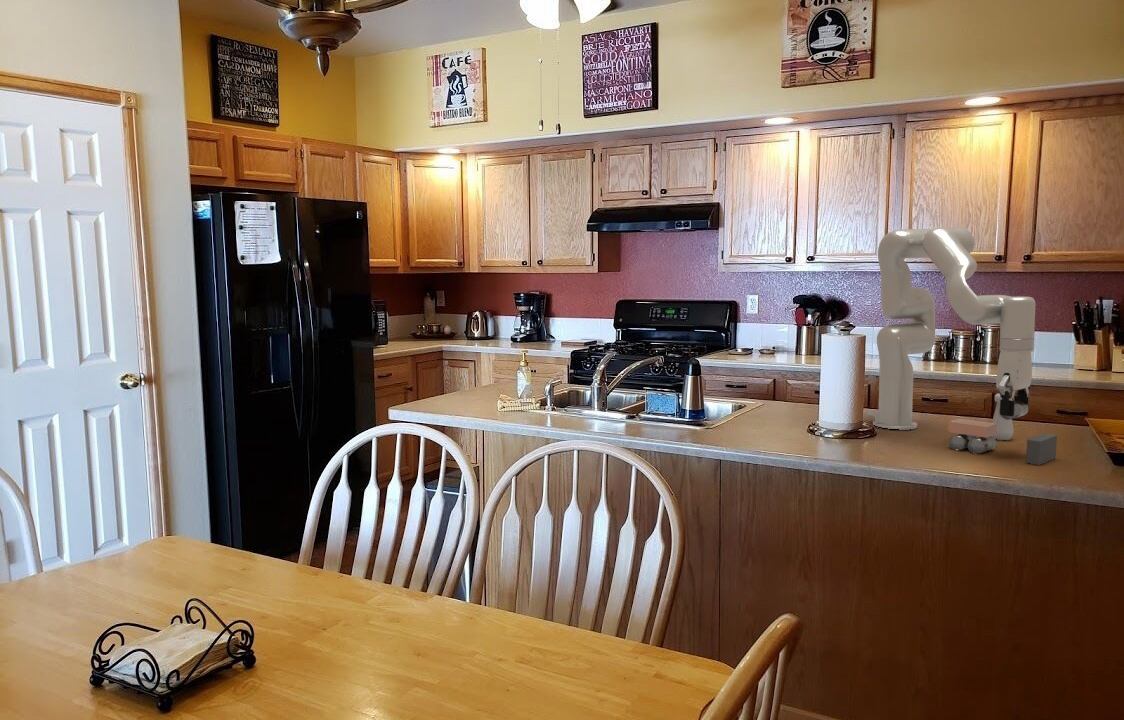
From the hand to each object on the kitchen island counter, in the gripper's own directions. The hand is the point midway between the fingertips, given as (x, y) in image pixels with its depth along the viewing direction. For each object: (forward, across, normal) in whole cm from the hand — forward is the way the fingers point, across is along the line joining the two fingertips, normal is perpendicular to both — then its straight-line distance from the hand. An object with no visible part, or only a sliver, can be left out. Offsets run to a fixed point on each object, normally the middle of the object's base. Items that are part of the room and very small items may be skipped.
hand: (1014, 413), depth 200 cm
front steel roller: (+11, 0, -8) cm, 14 cm away
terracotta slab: (+7, 0, -10) cm, 12 cm away
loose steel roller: (+1, 0, 0) cm, 1 cm away
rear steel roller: (+11, 0, -13) cm, 17 cm away
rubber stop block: (+11, 0, +7) cm, 13 cm away
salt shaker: (+11, -18, -10) cm, 24 cm away
